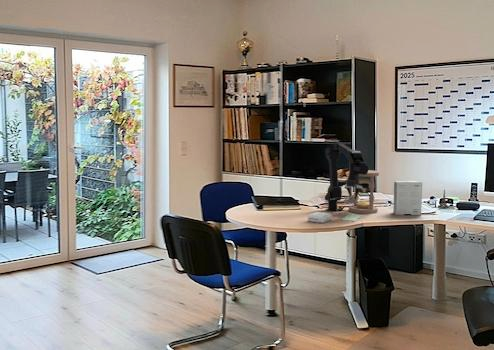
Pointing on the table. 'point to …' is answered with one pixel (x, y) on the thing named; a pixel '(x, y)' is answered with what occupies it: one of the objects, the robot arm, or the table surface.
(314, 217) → the photo printer
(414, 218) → the table surface
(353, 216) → the mat
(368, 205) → the hourglass
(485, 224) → the table surface
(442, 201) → the eiffel tower figurine
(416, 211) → the hard drive box
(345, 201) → the turner
